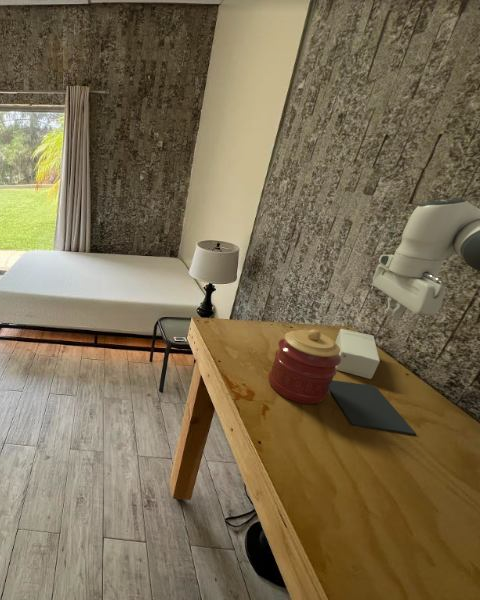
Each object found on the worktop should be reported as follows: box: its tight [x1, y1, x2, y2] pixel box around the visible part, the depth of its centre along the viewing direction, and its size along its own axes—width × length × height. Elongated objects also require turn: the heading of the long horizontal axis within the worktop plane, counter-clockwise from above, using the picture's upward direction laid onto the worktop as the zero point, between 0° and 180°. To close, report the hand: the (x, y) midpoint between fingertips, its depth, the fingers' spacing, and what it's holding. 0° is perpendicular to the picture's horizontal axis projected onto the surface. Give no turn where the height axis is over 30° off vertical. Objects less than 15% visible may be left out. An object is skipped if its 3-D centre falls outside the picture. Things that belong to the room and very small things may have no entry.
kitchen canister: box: [268, 328, 341, 405], centre depth 80 cm, size 13×13×18 cm
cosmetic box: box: [334, 328, 381, 380], centre depth 92 cm, size 8×7×16 cm
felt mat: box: [328, 379, 417, 436], centre depth 77 cm, size 12×16×1 cm
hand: (392, 314), depth 85 cm, fingers closed
